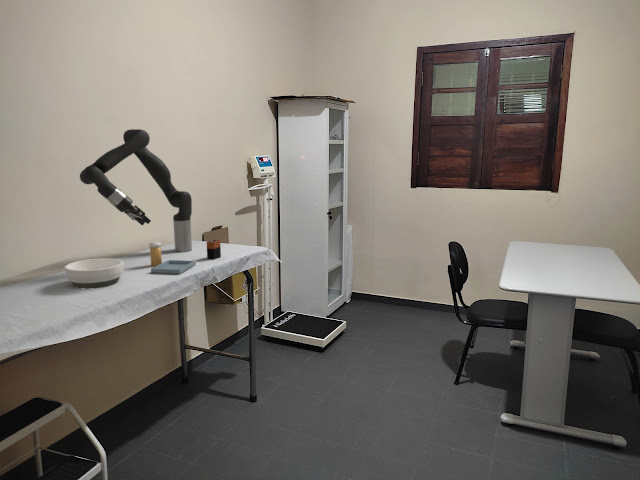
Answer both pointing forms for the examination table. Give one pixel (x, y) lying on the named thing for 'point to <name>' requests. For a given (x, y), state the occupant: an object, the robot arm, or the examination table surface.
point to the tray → (173, 267)
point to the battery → (213, 249)
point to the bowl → (94, 272)
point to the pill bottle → (155, 253)
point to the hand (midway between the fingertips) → (146, 223)
